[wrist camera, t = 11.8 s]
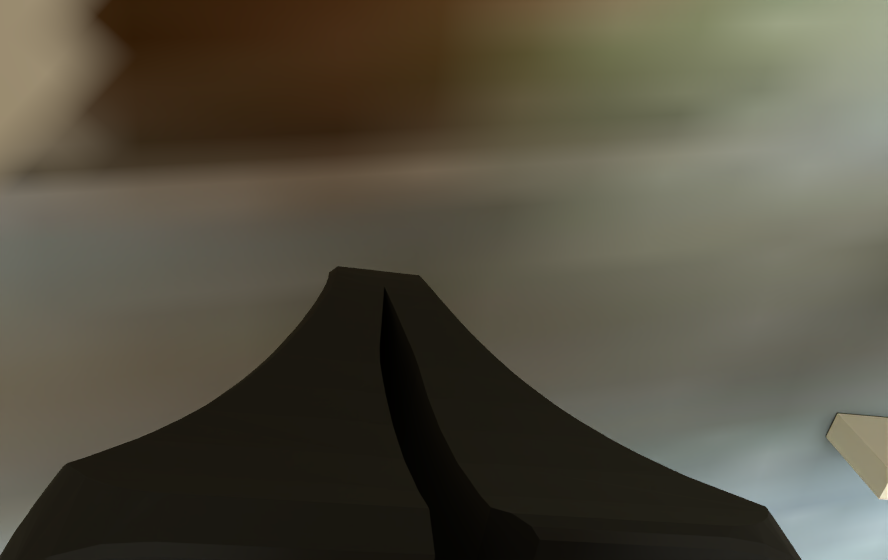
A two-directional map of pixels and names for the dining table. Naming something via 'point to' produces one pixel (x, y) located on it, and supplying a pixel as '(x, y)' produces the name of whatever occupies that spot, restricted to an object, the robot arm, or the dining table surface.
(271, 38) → the dining table surface
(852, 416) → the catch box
